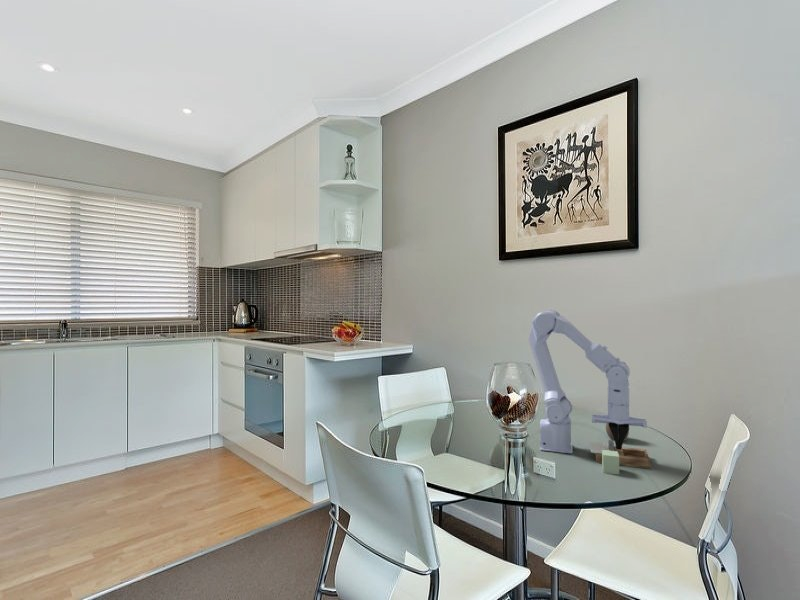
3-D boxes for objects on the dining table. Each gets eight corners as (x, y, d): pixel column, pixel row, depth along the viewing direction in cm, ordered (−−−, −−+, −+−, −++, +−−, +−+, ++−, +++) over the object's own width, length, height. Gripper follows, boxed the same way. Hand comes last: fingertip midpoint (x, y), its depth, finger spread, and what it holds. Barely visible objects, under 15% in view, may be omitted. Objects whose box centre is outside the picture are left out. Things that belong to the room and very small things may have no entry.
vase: (631, 443, 143) (631, 416, 142) (609, 442, 144) (608, 415, 144) (625, 436, 149) (625, 410, 149) (603, 435, 151) (603, 410, 150)
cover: (590, 452, 129) (590, 444, 129) (589, 443, 136) (589, 435, 136) (614, 455, 127) (614, 446, 127) (612, 445, 134) (612, 437, 134)
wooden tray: (596, 462, 128) (596, 454, 128) (594, 451, 136) (594, 444, 136) (650, 468, 123) (650, 460, 123) (645, 456, 131) (645, 449, 131)
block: (603, 472, 121) (603, 454, 121) (602, 467, 125) (602, 449, 125) (619, 474, 120) (619, 456, 119) (617, 468, 123) (617, 451, 123)
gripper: (592, 404, 128) (592, 450, 129) (648, 408, 123) (648, 456, 123) (591, 398, 135) (591, 442, 135) (644, 402, 130) (644, 447, 130)
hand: (618, 448), depth 130 cm, fingers closed
